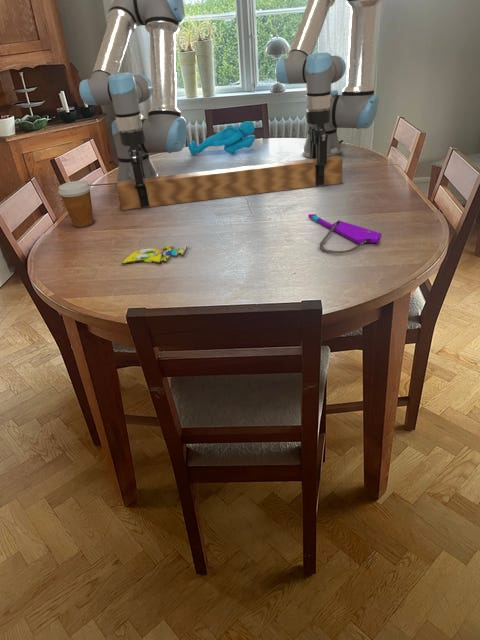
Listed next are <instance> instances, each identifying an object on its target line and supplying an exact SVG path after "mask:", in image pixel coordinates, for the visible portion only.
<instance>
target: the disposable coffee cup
mask: <svg viewBox="0 0 480 640" xmlns="http://www.w3.org/2000/svg"><path fill="white" fill-rule="evenodd" d="M58 195H59V196H60V197H61V199H62V201H63V203H64V206H65V208H66V211H67V213H68V215H69V218H70V221H71V223H72V225H73V227H78V228H80V227H81V228H82V227H87V226H90V225H92V224H93V223H94V221H95V220H94V213H93V211H94V210H93V203H92V196H91V195H92V194H91V185H90V184H89V182H88V181H86V180H73V181H69V182H65V183H62V184H61V185H59V186H58Z"/></svg>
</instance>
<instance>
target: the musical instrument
mask: <svg viewBox="0 0 480 640" xmlns="http://www.w3.org/2000/svg"><path fill="white" fill-rule="evenodd" d="M308 218H309V219H311V220H313V221H314V222H316V223H318V224H320V225H322V226H324V227H326V228H328V229H330V230H329V231H328V232H327V233H326V234H325V236H324V237H323V239H322V240H321V241H320V243H319V249H320V250H321V251H323V252H324V253H325V252H326V253H335V254H344V253H348V252H352V251H355V250H356V249H358V248H360V247H361V246H363V245H364V244H366V243H371V244H378V243H379V242H380V239H381V237H382V233H381V232H378V231H376V230H371V229H368V228H365V227H362V226H358V225H355V224H353V223H348V222H345V221H342V220H339V219H338V220H337V221H336V222H334V223H331V222H328V221H327V220H324V219H323V218H321V217H319V216H318V215H317V214H315V213H309V214H308ZM333 231H334V232H335V233H337V234H339V235H341V236H343V237H344V238H346V239H348V240H349V241H352V242H354V243H355V244H357V245H356V246H354V247H352V248H350V249H346V250H332V249H325V248H324V243H325V242H326V240H327V238H328V237H329V236H330V235H331V233H332V232H333Z"/></svg>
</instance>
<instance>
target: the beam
mask: <svg viewBox="0 0 480 640" xmlns="http://www.w3.org/2000/svg"><path fill="white" fill-rule="evenodd" d="M343 159H344V158H343V157H341V156H340V154H339V155H338V156H330V157H327V164H326V165H324V185H317V186H316V167H315V165H316V164H317V159H316V158H313V159H311V158H305V159H297V160H287V161H280V162H271V163H263V164H256V165H255V164H254V165H246V166H238V167H237V166H236V167H228V168H219V169H211V170H204V171H195V172H185V173H179V174H170V175H161V176H158V177H151V178H144V183H145V186H146V191H147V196H148V201H149V206H145V207H141V205H140V200H139V195H138V190H137V188H135V186H136V182H135V179H134V180H126V181H118V180H117V182H116V184H115V186H116V191H117V195H118V196H117V197H118V200H119V204H120V209H121V211H126V210H133V209H134V210H135V209H143V208H150V207H158V206H167V205H175V204H181V203H182V204H183V203H192V202H199V201H207V200H216V199H223V198H232V197H233V198H234V197H240V196H241V197H242V196H249V195H256V194H257V195H258V194H266V193H273V192H281V191H289V190H298V189H299V190H300V189H306V188H314V187H315V188H316V187H323V186H330V185H338V184H343V164H344V163H343V162H344V160H343Z"/></svg>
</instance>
